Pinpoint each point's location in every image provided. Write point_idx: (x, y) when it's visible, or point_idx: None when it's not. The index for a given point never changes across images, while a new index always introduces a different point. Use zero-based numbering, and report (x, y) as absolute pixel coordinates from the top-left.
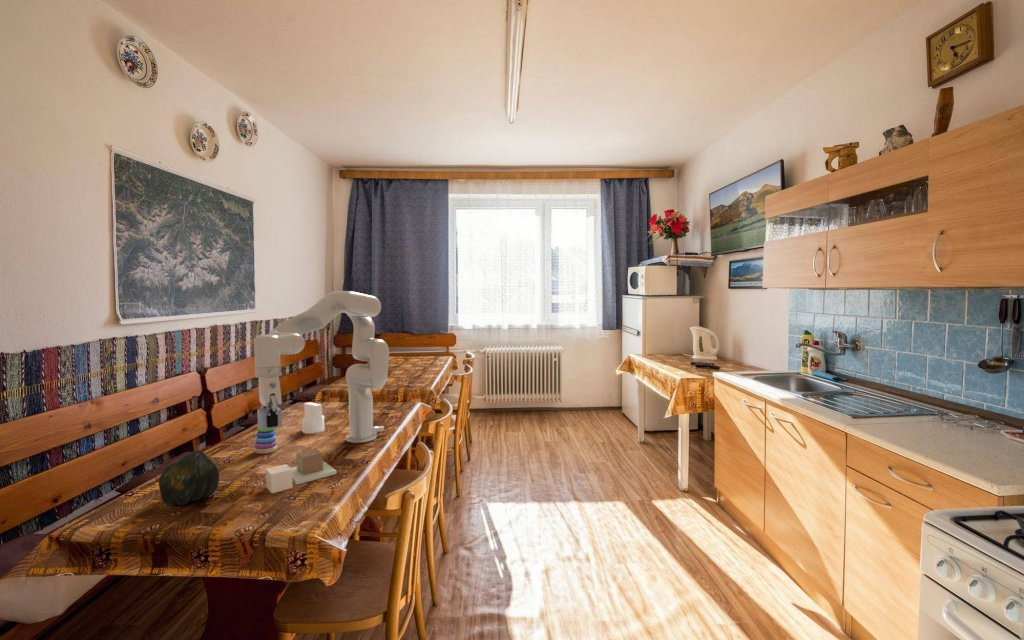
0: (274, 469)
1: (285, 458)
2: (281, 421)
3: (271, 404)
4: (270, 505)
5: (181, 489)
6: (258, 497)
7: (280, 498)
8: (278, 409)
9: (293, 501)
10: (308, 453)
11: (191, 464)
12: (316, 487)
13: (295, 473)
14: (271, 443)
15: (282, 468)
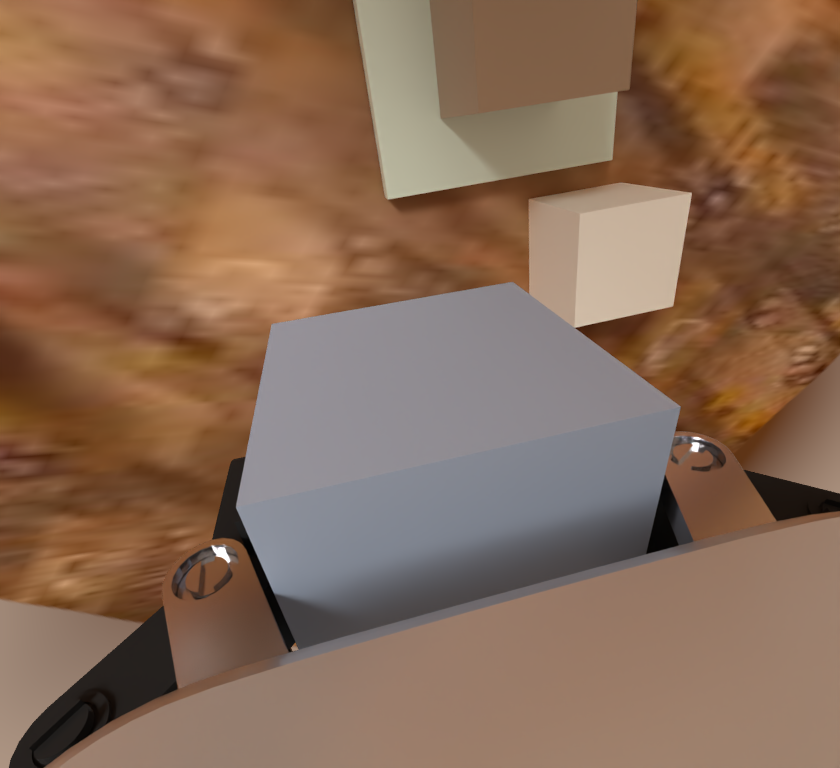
0: (616, 286)
1: (72, 142)
2: (547, 311)
3: (287, 649)
4: (715, 289)
5: None
6: (613, 327)
7: (688, 248)
8: (624, 456)
9: (756, 202)
10: (569, 13)
11: None
12: (709, 57)
13: (500, 140)
14: None
15: (635, 244)
